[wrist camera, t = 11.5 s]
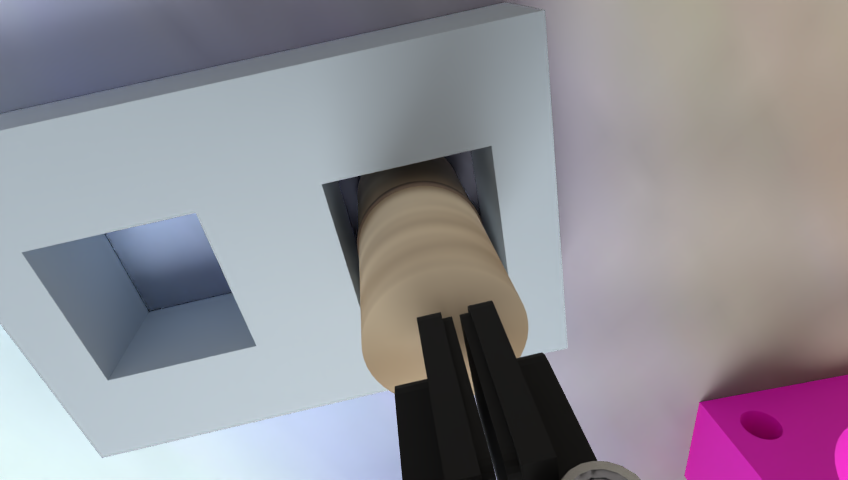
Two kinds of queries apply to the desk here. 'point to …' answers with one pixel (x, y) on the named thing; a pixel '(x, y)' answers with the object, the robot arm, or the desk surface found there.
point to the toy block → (773, 434)
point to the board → (263, 217)
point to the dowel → (424, 267)
